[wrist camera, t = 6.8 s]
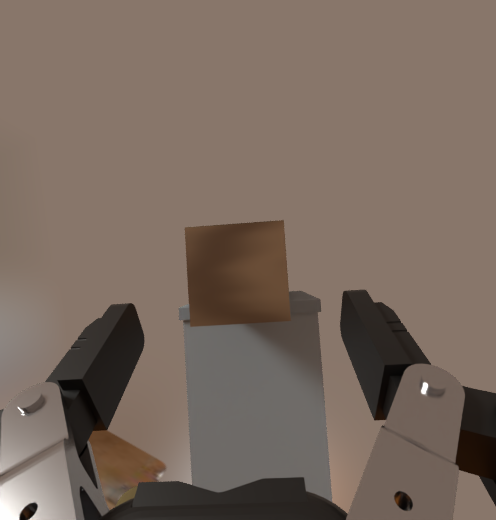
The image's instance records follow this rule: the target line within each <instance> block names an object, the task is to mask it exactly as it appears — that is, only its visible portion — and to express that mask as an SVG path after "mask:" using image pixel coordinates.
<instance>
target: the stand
mask: <svg viewBox="0 0 496 520" xmlns="http://www.w3.org/2000/svg"><path fill="white" fill-rule="evenodd" d="M289 302H290V316H291V321H283V322H266V323H249V324H232V325H215V326H198V327H190V312H189V304H187V305H185V306H183V307H180V308H179V320H183V323H184V324H183V325H184V343H185V360H186V361H185V362H186V380H187V399H188V416H189V435H190V453H191V472H192V485H193V486H197V487H200V488H203V489H207V490H210V491H214V492H224V491H227V490H230V489H233V488H236V487H239V486H242V485H245V484H248V483H251V482H254V481H257V480H260V479H263V478H292V477H304V480H305V487H306V491H308V492H311V493H315V494H317V495H319V496H321V497H324V498H326V499H327V500H329V501H331V502H332V492H331V479H330V467H329V454H328V440H327V427H326V414H325V401H324V388H323V375H322V362H321V350H320V337H319V323H318V312H321V302H320V299H318V298H316V297H314V296H311V295H309V294H307V293H305V292H302V291H292V292H289Z"/></svg>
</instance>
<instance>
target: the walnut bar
mask: <svg viewBox="0 0 496 520" xmlns="http://www.w3.org/2000/svg"><path fill="white" fill-rule="evenodd" d="M185 239H186V257H187V276H188V294H189V312H190V327H198V326H215V325H232V324H249V323H266V322H283V321H291V316H290V302H289V288H288V274H287V261H286V248H285V234H284V221H283V220H281V221H267V222H254V223H241V224H228V225H213V226H200V227H186V228H185Z"/></svg>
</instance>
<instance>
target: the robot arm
mask: <svg viewBox="0 0 496 520" xmlns="http://www.w3.org/2000/svg"><path fill="white" fill-rule="evenodd" d="M340 328H341V336H342V339H343V342H344V344H345V347H346V350H347V352H348V355H349V357H350V360H351V362H352V365H353V368H354V370H355V373H356V375H357V378H358V380H359V383H360V385H361V388H362V390H363V393H364V395H365V398H366V401H367V403H368V405H369V408H370V410H371V413H372V416H373V418H374V420H386V422H385V425H384V426H382V427H381V429H380V431H379V434H378V436H377V439H376V442H375V444H374V447H373V450H372V452H371V455H370V457H369V460H368V463H367V465H366V468H365V471H364V473H363V476H362V479H361V481H360V484H359V487H358V489H357V492H356V494H355V497H354V500H353V502H352V505H351V508H350V510H349V513H348V514H347V513H346V512H345V511H344V510H342V509H341V508H340V507H338V506H337V505H336V504H334V503H332V502H331V501H329V500H327V499H326V498H324V497H321V496H319V495H317V494H315V493H311V492H308V491H306V487H305V480H304V477H292V478H263V479H260V480H257V481H254V482H251V483H248V484H245V485H242V486H239V487H236V488H233V489H230V490H227V491H224V492H214V491H210V490H207V489H203V488H200V487H197V486H193V485H190V484H186V483H183V482H179V481H173V482H172V481H171V482H141V483H139V484H138V487H137V490H136V494H135V497H134V498H133V499H130V500H128V501H126V502H124V503H122V504H120V505H118V506H116V507H115V508H113V509H111V510H110V511H109V509H108V506H107V504H106V501H105V498H104V495H103V492H102V488H101V484H100V480H99V476H98V472H97V468H96V464H95V460H94V456H93V452H92V449H91V445H90V443H89V441H88V439H89V437H90V435H91V433H92V431H100V430H107V429H108V427H109V425H110V422H111V420H112V418H113V416H114V414H115V411H116V409H117V407H118V404H119V402H120V400H121V398H122V396H123V393H124V391H125V389H126V386H127V384H128V382H129V380H130V378H131V375H132V373H133V371H134V369H135V366H136V364H137V362H138V360H139V357H140V355H141V353H142V351H143V347H144V334H143V330H142V327H141V324H140V321H139V318H138V314H137V311H136V309H135V306H134V305H133V304H132V303H129V304H113V305H111V306H110V307H109V308H108V309H107V311H106V312H105V313H104V315H103V316H102V318H98V319H96V320H95V321H94V322H93V323H91V324H90V325H89V326H87V327H86V328H85V329H84V331H83V332H82V333H81V335H80V336H79V337H78V340H77V341H75V343H74V344H73V345H72V347H71V350H69V351H68V352H67V353H66V355H65V356H64V358H63V359H62V360H61V361H60V363H59V364H58V365H57V367H56V368H55V370H54V371H53V372H52V373H51V375H50V376H49V377H48V379H47V380H46V381H45V382H44V383H39V384H36V385H33V386H31V387H29V388H27V389H25V390H24V391H22V392H21V393H19V394H18V395H16V396H15V397H14V398H13V399H12V400H11V401H10V402H9V403H8V405H7V406H6V407H5V409H2V410H0V520H452V519H453V512H454V505H455V497H456V490H457V482H458V474H459V470H461V471H464V472H468V473H471V474H475V475H478V476H479V477H480V479H481V480H482V482H483V484H484V486H485V488H486V489H487V491H488V493H489V495H490V497H491V498H492V500H493V502H494V504H495V506H496V393H491V392H487V391H482V390H477V389H472V388H468V387H464V386H462V385H461V384H460V382H458V380H457V379H456V378H455V377H454V376H453V375H451V374H450V373H448V372H447V371H445V370H443V369H441V368H439V367H436V366H433V365H431V363H430V362H429V361H428V359H427V358H426V356H425V355H424V354H423V352H422V351H421V349H420V348H419V346H418V345H417V343H416V342H415V341H414V339H413V338H412V336H411V335H410V333H409V332H407V329H406V328H405V326H404V325H403V323H401V321H400V319H399V318H398V316H397V315H396V314H395V312H394V311H393V310H392V309H390V308H389V307H388V306H386V305H385V304H383V303H382V302H378V303H374V302H373V300H372V299H371V297H370V296H369V294H368V292H367V291H366V290H351V291H344V292H343V297H342V309H341V322H340Z"/></svg>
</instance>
